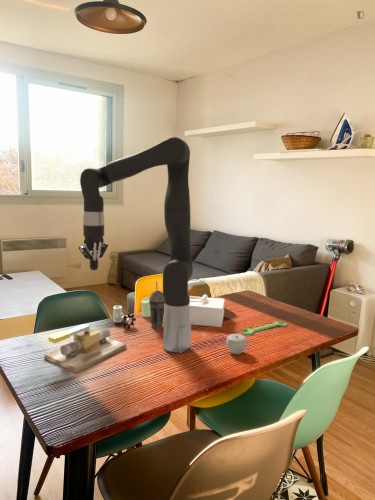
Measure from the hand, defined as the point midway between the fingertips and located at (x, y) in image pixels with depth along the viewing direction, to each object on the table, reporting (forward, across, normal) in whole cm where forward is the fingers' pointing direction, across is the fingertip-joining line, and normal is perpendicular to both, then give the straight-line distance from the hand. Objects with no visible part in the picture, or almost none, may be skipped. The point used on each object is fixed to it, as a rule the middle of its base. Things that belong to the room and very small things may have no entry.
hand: (94, 269), depth 141 cm
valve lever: (+19, -18, -8) cm, 27 cm away
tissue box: (+28, +42, -20) cm, 54 cm away
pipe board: (+27, -11, -8) cm, 30 cm away
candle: (+27, +32, 0) cm, 42 cm away
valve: (+27, +17, +2) cm, 32 cm away
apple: (+27, +22, -50) cm, 61 cm away
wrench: (+28, +51, -49) cm, 76 cm away
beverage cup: (+27, +24, -12) cm, 38 cm away
